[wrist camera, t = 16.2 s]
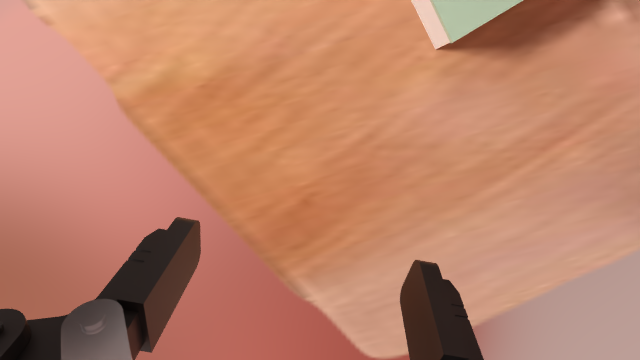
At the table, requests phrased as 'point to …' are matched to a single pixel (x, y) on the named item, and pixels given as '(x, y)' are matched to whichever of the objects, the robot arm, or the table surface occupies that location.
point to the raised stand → (457, 16)
